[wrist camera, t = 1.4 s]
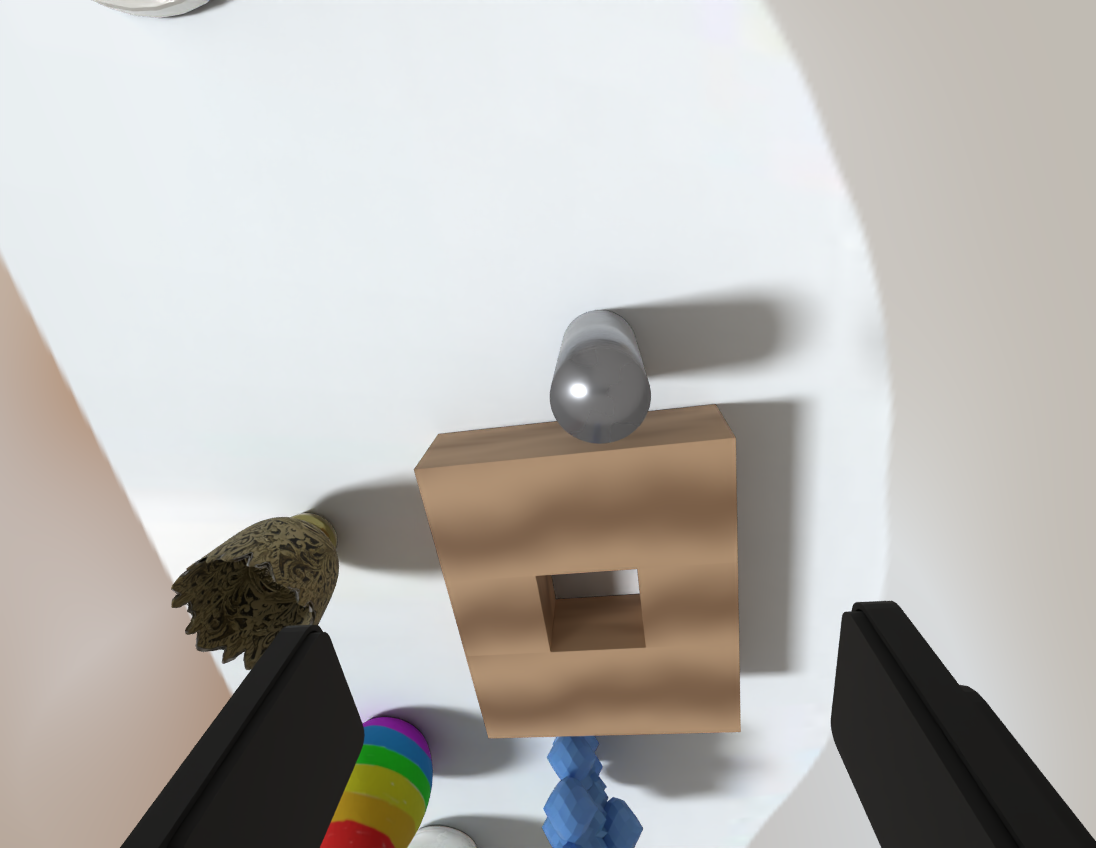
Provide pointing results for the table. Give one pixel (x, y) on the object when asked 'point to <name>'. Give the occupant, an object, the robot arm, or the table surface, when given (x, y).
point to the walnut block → (593, 546)
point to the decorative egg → (384, 789)
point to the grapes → (585, 801)
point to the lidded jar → (441, 838)
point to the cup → (260, 585)
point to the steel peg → (599, 379)
